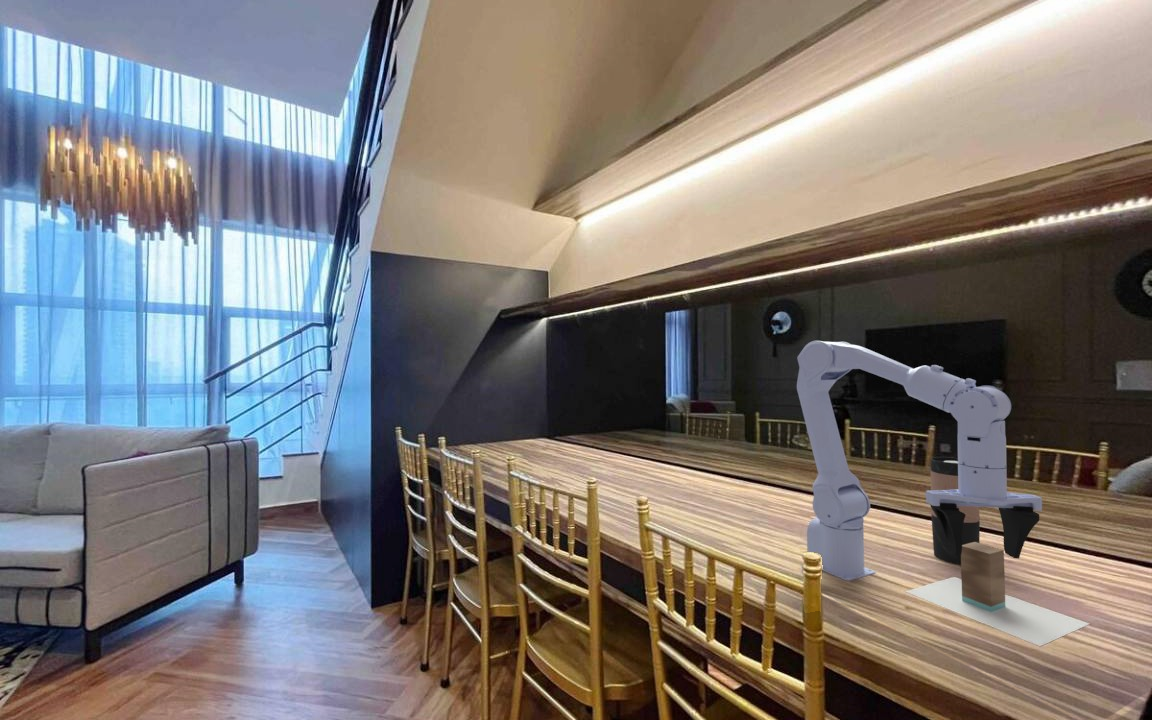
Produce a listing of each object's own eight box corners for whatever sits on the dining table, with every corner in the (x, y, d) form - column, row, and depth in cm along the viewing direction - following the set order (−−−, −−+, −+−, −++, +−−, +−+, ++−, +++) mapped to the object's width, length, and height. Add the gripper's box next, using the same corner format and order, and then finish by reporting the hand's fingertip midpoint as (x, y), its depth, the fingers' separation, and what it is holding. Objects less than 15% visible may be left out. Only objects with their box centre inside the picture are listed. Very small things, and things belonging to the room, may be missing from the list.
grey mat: (905, 593, 82) (904, 591, 82) (954, 578, 88) (954, 576, 88) (1040, 649, 66) (1040, 646, 66) (1089, 626, 71) (1089, 623, 71)
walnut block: (962, 600, 79) (960, 545, 79) (976, 596, 80) (974, 541, 81) (991, 611, 75) (989, 553, 75) (1005, 606, 77) (1003, 549, 77)
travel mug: (939, 564, 94) (936, 462, 95) (927, 551, 101) (924, 455, 102) (987, 570, 92) (984, 464, 92) (971, 555, 99) (969, 458, 99)
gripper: (942, 468, 71) (944, 561, 71) (1057, 472, 69) (1059, 568, 68) (918, 459, 78) (920, 543, 78) (1022, 462, 75) (1023, 549, 75)
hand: (983, 554), depth 74 cm, fingers open, 7 cm apart
